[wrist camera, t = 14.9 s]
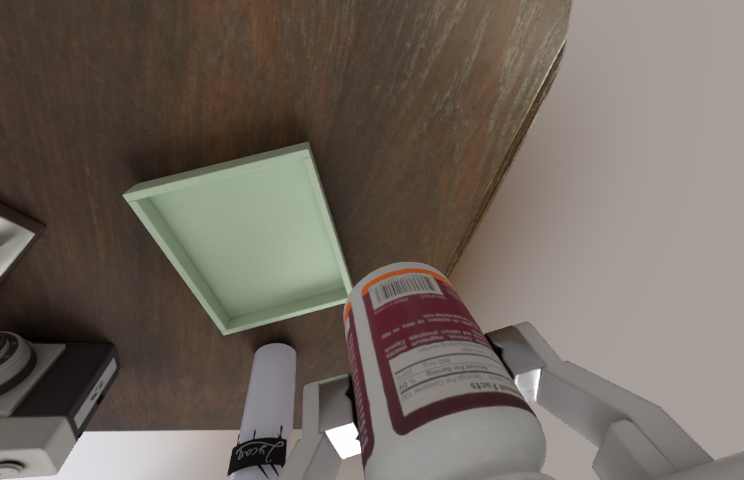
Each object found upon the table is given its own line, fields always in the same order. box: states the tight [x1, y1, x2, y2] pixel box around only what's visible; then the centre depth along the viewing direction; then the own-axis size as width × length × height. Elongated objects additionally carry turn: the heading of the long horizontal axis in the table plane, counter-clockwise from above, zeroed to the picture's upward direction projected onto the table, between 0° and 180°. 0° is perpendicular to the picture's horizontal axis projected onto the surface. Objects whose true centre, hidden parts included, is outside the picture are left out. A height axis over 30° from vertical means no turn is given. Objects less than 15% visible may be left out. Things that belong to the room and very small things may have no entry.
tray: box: [122, 142, 354, 335], centre depth 26 cm, size 15×13×2 cm
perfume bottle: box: [228, 343, 296, 480], centre depth 26 cm, size 6×6×20 cm
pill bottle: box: [344, 262, 555, 480], centre depth 9 cm, size 5×5×8 cm
